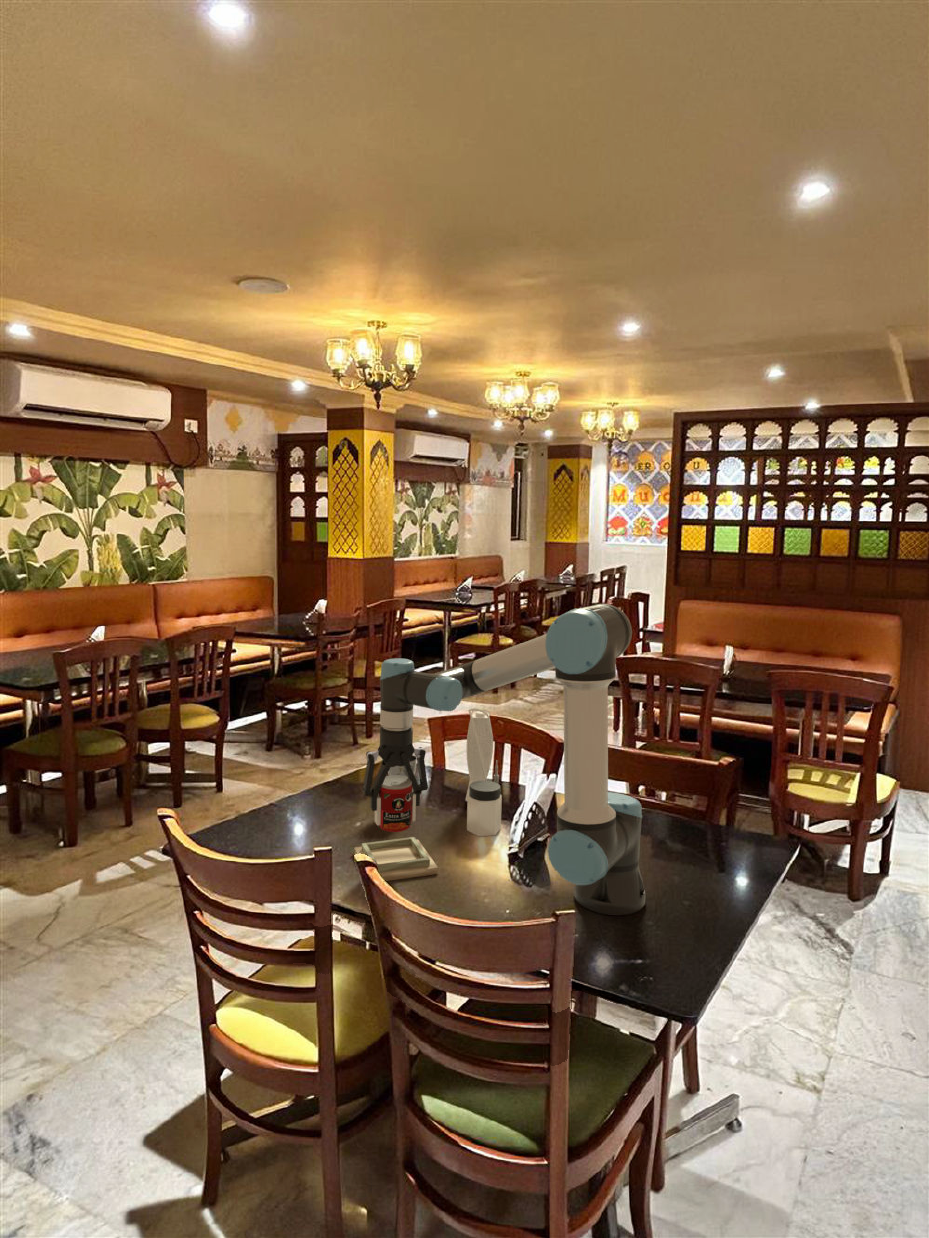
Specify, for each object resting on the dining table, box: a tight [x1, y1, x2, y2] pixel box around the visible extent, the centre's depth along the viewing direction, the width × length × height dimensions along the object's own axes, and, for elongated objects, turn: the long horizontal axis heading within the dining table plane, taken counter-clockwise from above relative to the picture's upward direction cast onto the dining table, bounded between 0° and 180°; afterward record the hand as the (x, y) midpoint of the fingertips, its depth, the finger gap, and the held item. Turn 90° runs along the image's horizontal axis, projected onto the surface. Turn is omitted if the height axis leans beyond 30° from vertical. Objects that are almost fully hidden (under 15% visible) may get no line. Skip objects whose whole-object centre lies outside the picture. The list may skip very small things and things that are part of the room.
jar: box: [466, 780, 503, 837], centre depth 209 cm, size 9×8×12 cm
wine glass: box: [387, 754, 417, 777], centre depth 220 cm, size 8×8×15 cm
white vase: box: [465, 708, 500, 803], centre depth 227 cm, size 8×8×28 cm
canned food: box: [378, 775, 413, 833], centre depth 187 cm, size 8×8×11 cm
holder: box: [353, 836, 439, 882], centre depth 189 cm, size 16×16×3 cm
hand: (395, 820), depth 188 cm, fingers closed on canned food, 8 cm apart
